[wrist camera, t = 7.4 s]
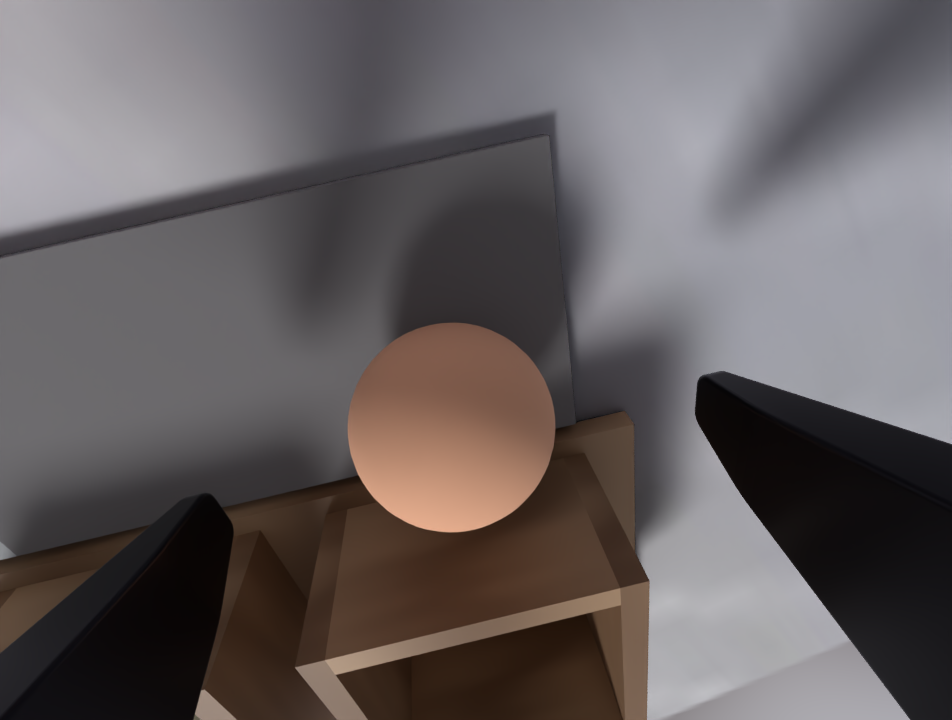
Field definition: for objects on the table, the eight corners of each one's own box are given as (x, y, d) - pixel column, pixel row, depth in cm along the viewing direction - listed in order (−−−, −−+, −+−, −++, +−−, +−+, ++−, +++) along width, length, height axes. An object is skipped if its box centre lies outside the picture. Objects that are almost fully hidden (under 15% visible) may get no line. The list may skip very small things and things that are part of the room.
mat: (543, 134, 9) (549, 135, 8) (571, 415, 12) (576, 423, 12) (-233, 308, 8) (-259, 317, 8) (28, 543, 12) (16, 556, 12)
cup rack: (624, 411, 12) (720, 545, 9) (628, 586, 17) (693, 728, 13) (-56, 571, 12) (-269, 786, 8) (126, 708, 16) (41, 891, 13)
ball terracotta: (515, 273, 10) (576, 368, 6) (537, 417, 12) (591, 549, 8) (333, 315, 9) (289, 435, 6) (387, 453, 12) (378, 601, 8)
